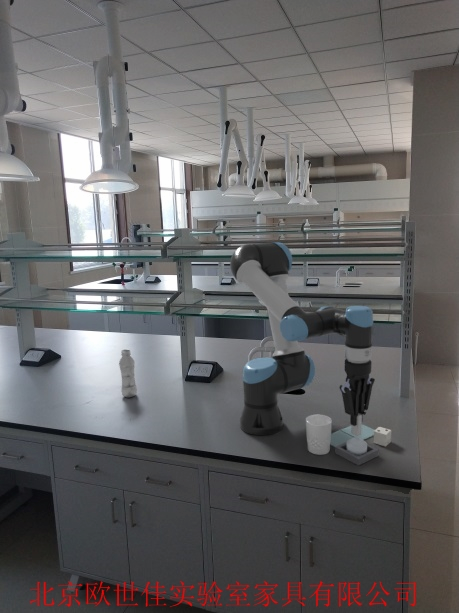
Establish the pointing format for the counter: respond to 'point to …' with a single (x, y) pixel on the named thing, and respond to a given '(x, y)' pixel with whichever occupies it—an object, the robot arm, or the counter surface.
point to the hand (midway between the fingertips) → (356, 433)
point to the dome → (357, 446)
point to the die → (382, 436)
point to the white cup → (318, 433)
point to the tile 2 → (365, 432)
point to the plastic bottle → (127, 374)
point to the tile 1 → (339, 438)
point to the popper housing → (358, 460)
